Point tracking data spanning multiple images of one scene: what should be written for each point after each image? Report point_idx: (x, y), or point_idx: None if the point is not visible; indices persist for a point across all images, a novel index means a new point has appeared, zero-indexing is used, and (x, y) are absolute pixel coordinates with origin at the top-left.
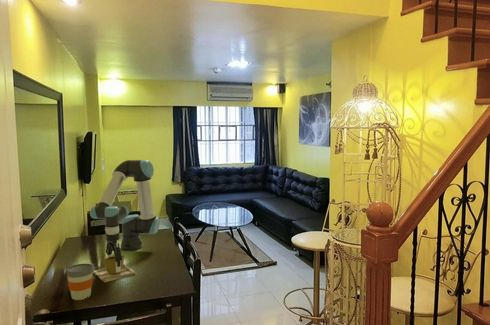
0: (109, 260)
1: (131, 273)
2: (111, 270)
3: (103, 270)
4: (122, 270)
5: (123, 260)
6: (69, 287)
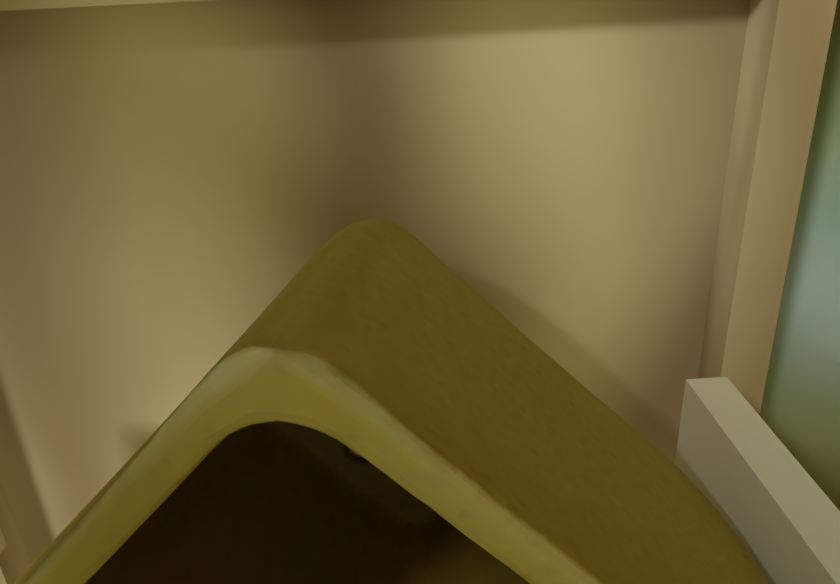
0: None
1: (814, 45)
2: (517, 581)
3: (18, 545)
4: (267, 154)
5: (410, 303)
6: None
